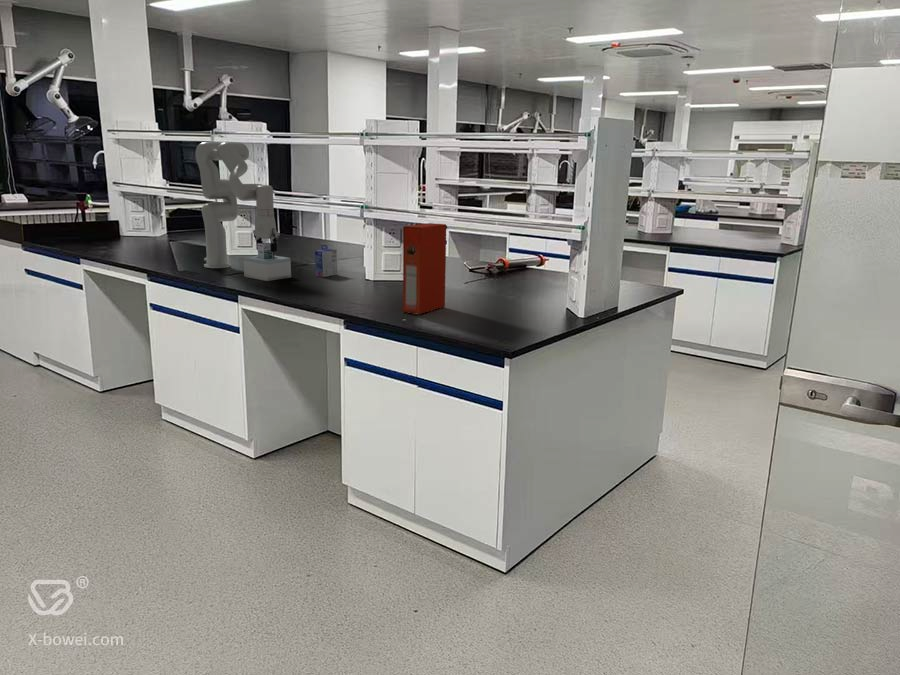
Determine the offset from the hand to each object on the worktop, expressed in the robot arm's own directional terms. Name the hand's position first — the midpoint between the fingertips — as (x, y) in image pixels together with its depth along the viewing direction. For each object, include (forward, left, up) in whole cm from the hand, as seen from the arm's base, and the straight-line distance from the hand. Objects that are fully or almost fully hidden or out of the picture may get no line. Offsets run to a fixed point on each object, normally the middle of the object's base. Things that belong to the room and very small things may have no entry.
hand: (266, 250), depth 314 cm
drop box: (0, 0, -12) cm, 12 cm away
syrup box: (0, 0, -11) cm, 11 cm away
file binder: (+96, -6, -12) cm, 97 cm away
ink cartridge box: (+16, +22, -12) cm, 30 cm away
